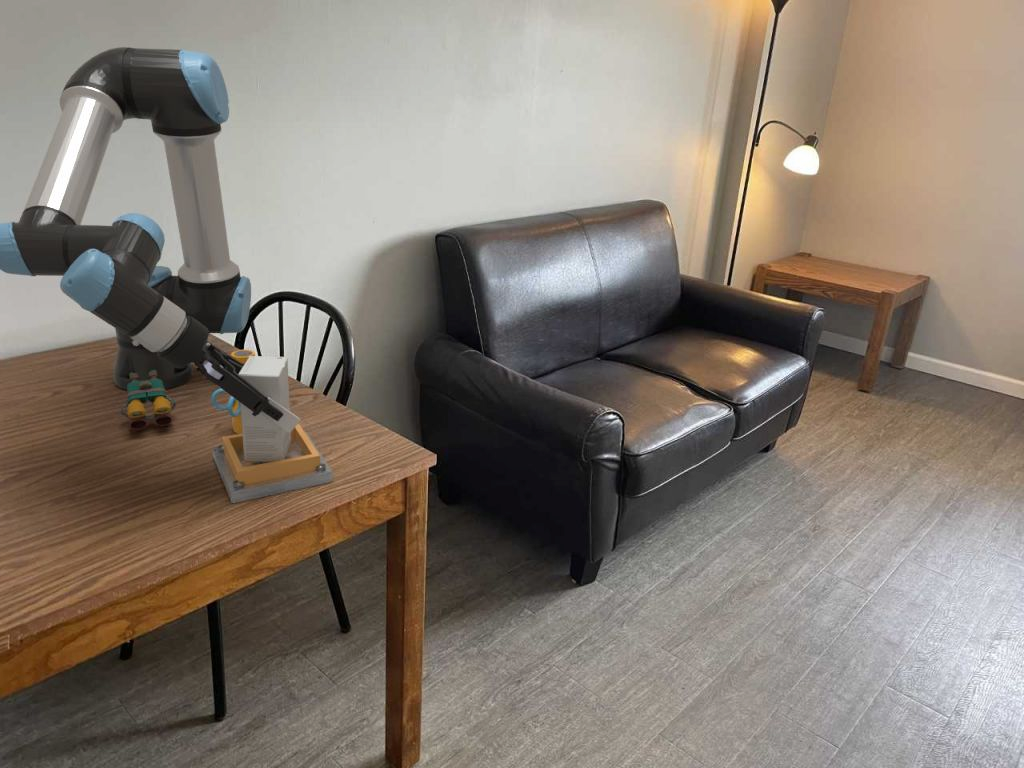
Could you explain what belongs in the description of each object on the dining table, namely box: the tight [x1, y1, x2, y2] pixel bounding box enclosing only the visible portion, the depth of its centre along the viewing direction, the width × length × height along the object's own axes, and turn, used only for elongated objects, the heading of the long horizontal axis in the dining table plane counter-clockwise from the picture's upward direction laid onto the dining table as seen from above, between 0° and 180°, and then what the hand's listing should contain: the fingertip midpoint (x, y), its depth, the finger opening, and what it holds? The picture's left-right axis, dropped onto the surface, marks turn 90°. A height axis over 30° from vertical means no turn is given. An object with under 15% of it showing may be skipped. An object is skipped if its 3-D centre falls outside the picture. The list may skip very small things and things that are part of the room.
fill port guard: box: [221, 423, 321, 485], centre depth 126 cm, size 13×13×2 cm
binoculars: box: [119, 370, 177, 431], centre depth 139 cm, size 9×9×10 cm
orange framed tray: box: [212, 430, 334, 504], centre depth 126 cm, size 16×16×3 cm
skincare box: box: [238, 355, 291, 462], centre depth 123 cm, size 8×7×16 cm
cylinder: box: [210, 349, 256, 434], centre depth 138 cm, size 12×10×15 cm
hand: (286, 413), depth 124 cm, fingers closed on skincare box, 10 cm apart
